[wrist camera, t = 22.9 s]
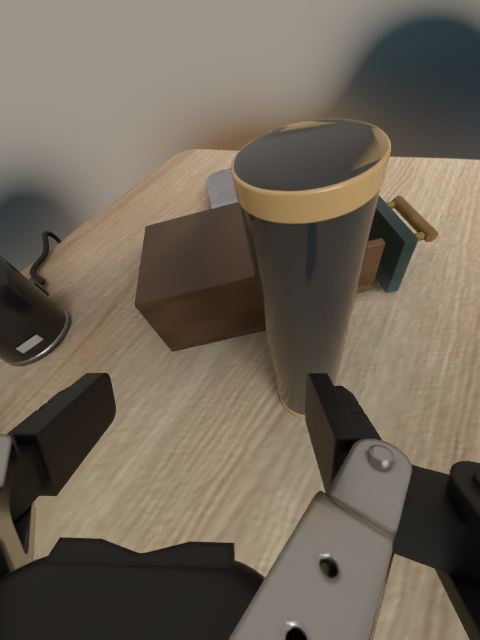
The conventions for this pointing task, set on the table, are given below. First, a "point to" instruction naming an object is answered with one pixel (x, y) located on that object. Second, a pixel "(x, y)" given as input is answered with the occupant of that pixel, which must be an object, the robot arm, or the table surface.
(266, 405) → the table surface
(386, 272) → the drawer
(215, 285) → the cabinet
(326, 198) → the black cylinder
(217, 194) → the stone block
